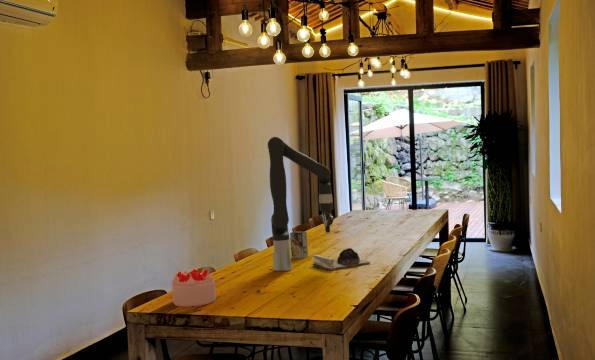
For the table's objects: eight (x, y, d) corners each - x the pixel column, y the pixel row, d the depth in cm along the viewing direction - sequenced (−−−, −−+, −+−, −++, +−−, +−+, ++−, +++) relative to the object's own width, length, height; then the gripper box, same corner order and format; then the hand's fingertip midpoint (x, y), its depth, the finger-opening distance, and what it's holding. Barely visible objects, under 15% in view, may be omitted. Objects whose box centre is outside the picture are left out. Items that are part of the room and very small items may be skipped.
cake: (218, 295, 293) (216, 266, 292) (213, 305, 273) (211, 274, 272) (177, 298, 292) (175, 269, 292) (170, 309, 272) (167, 277, 272)
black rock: (344, 262, 357) (341, 246, 357) (365, 261, 351) (362, 244, 350) (334, 268, 346) (331, 251, 345) (355, 267, 339) (353, 249, 339)
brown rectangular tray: (351, 259, 362) (350, 249, 362) (369, 263, 344) (369, 253, 344) (312, 265, 350) (312, 255, 350) (330, 270, 333) (329, 259, 332)
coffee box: (308, 256, 382) (307, 231, 381) (304, 258, 377) (302, 232, 376) (295, 256, 386) (294, 231, 386) (291, 258, 381) (289, 232, 380)
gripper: (314, 202, 348) (316, 232, 349) (325, 203, 336) (327, 234, 337) (326, 200, 352) (327, 230, 352) (337, 201, 340) (339, 232, 341)
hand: (327, 232), depth 345 cm, fingers closed
